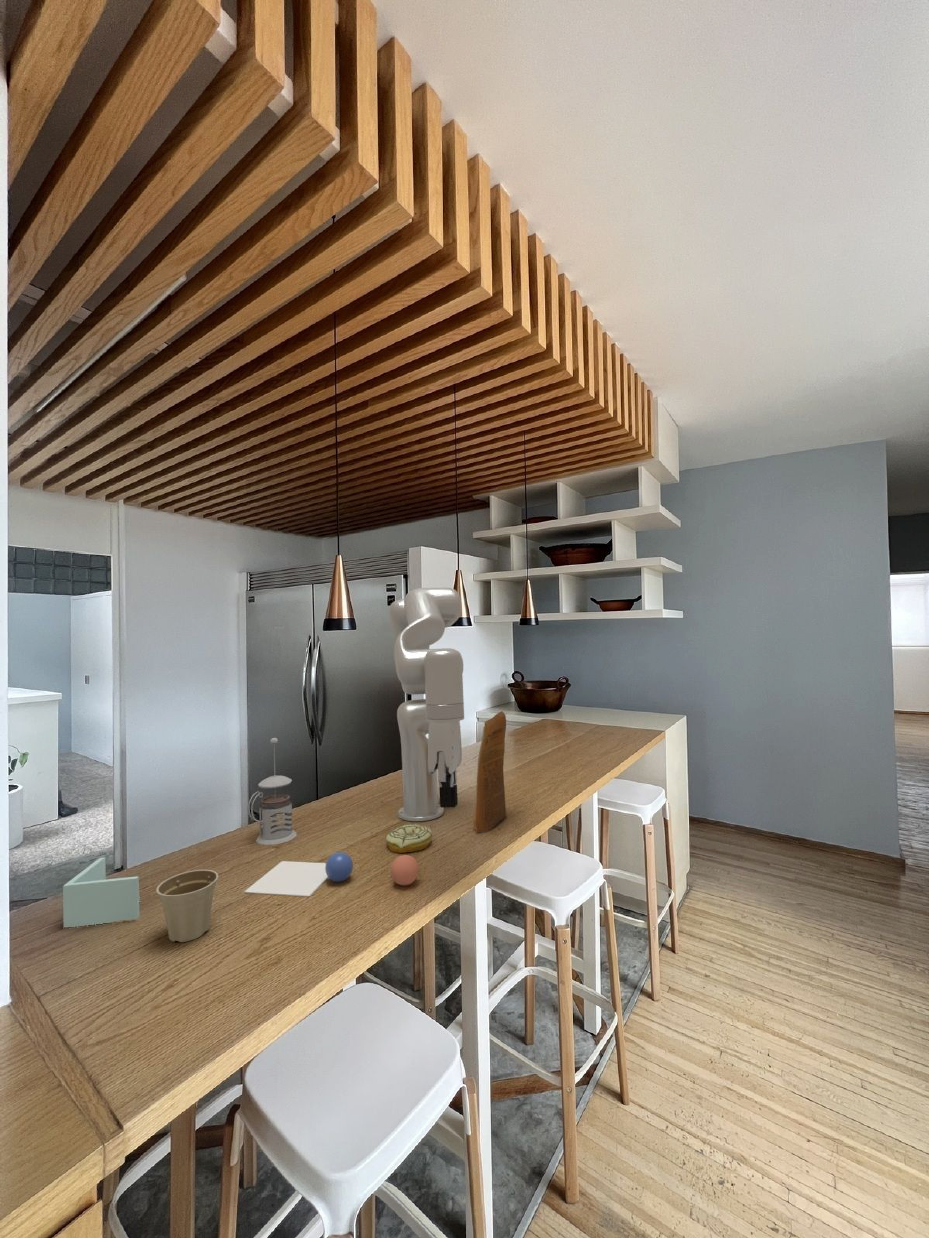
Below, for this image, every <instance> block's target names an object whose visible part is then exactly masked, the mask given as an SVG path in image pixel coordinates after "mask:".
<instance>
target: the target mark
mask: <svg viewBox="0 0 929 1238" xmlns="http://www.w3.org/2000/svg"><path fill="white" fill-rule="evenodd" d="M325 866H326V862H305V861H284V860H281V861H280V862H279V863H278V864H276V865H275V866H274V867H273V868H272V869H270V870H269V871H268V872H267V873H265V874H264V875H263V876H261V878H259V879H258V880H256V881H255V882H254V883H253V884H252V885H251V886H249V887H248V888H246V889H245V890H244V891H243V893H244V894H255V895H257V894H258V895H272V896H289V897H290V896H291V897H294V896H295V897H306V898H307V897H309V898H310V897H311V896H312V895H313V894H314V893H315V892H316V891H317V889H319V888H320V887H321V886H322V885H323V884H324V882H326V880H327V879H329V878H328V876H327V874H326V871H325Z"/></svg>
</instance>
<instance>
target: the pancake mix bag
mask: <svg viewBox="0 0 929 1238" xmlns="http://www.w3.org/2000/svg"><path fill="white" fill-rule="evenodd" d="M483 723H484V726H483V731H482V735H481V743H480V747H479V752H478V758H477V768H476V769H477V773H476V791H475V792H476V800H475V806H474V807H475V808H474V814H473V815H474V817H473V831H475V833H476V834H479V832H482V833H487V831H488V832H491V831H492V830H493V829H495V827H497V825H499V824H500V823H501V822H502V821H503V820H504V819H506V818H507V809H506V807H507V806H506V793H505V780H504V779H505V778H504V761H505V760H504V758H505V747H506V745H505V743H506V742H505V739H506V731H507V718H506V714H505V713H504V711H503V710H501V711H499V712H497V713H496V714H495V715H494V716H493V717H491V718H489V719H488V720H485V721H484V722H483ZM500 821H501V822H500Z"/></svg>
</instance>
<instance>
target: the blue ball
mask: <svg viewBox="0 0 929 1238" xmlns="http://www.w3.org/2000/svg"><path fill="white" fill-rule="evenodd" d="M325 863H326V866H325V871H326V874H327V876H328V878H327V879H330V881H332V882H336V883H340V882H343V881H345V880H347V879H348V878H349V877H350V876H351V874H352V873H353V868H354V862H353V860H352V857H351V856H350V855H349V854H348V853H346V852H344V851H343V852H342V851H338V852H335V853H333V854H332V855H330V856H329V857H328V859H327V860H326V862H325Z"/></svg>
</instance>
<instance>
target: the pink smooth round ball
mask: <svg viewBox="0 0 929 1238" xmlns="http://www.w3.org/2000/svg"><path fill="white" fill-rule="evenodd" d="M419 868H420V867H419V864H418V862H417V860H416V859H415V858H414V856H412V855H409V854H403V855H400V856H397V857H396V858H395V859H394V860H393V862H392V864H391V867H390V875H391V878H392V880H393V881H394V882H395V883H396V884H397V885H400V886H409V885H411V884H412V883H414V881H416V879H417V878H418V875H419V870H420V869H419Z"/></svg>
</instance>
